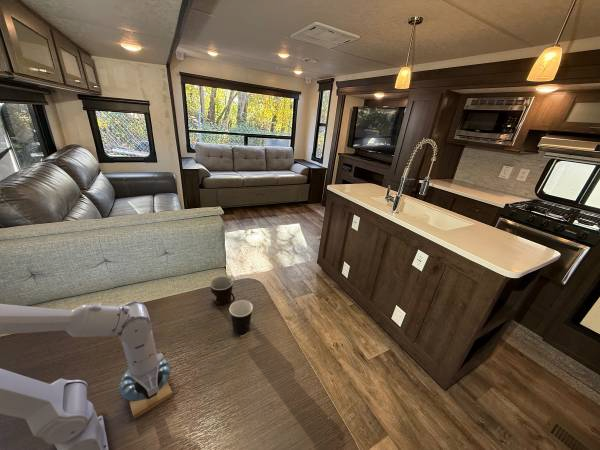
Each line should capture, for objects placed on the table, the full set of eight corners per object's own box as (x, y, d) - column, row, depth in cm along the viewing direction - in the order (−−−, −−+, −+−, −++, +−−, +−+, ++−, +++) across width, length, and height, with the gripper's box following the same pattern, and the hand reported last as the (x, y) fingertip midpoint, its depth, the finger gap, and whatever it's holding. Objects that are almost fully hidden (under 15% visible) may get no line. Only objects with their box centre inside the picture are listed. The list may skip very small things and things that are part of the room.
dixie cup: (254, 337, 86) (255, 313, 82) (231, 343, 83) (230, 318, 79) (250, 321, 93) (250, 298, 89) (228, 325, 90) (227, 302, 86)
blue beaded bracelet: (177, 382, 65) (175, 375, 64) (127, 414, 57) (124, 406, 56) (162, 354, 72) (160, 347, 71) (116, 379, 65) (113, 371, 63)
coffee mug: (210, 298, 102) (208, 278, 98) (231, 294, 106) (230, 274, 102) (213, 318, 93) (212, 297, 89) (236, 312, 96) (236, 292, 92)
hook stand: (172, 395, 67) (169, 380, 64) (134, 419, 61) (129, 403, 58) (162, 370, 73) (159, 356, 70) (126, 390, 67) (121, 375, 64)
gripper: (170, 363, 54) (177, 402, 59) (151, 323, 63) (159, 360, 69) (132, 384, 49) (143, 423, 55) (118, 337, 59) (129, 375, 64)
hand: (150, 389), depth 62 cm, fingers closed on blue beaded bracelet, 3 cm apart
